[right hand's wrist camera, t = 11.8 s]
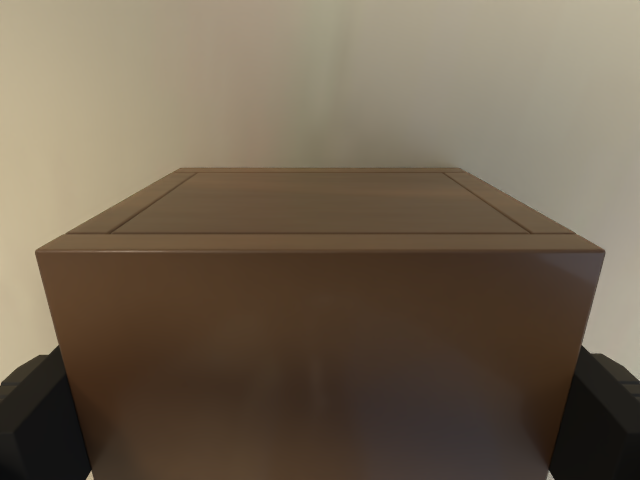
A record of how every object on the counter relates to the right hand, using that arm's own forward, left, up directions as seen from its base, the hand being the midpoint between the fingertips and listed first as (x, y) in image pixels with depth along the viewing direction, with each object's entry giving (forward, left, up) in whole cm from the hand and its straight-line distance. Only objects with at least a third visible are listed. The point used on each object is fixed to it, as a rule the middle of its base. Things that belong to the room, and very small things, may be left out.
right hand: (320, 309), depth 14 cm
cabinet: (+5, -3, -3) cm, 6 cm away
